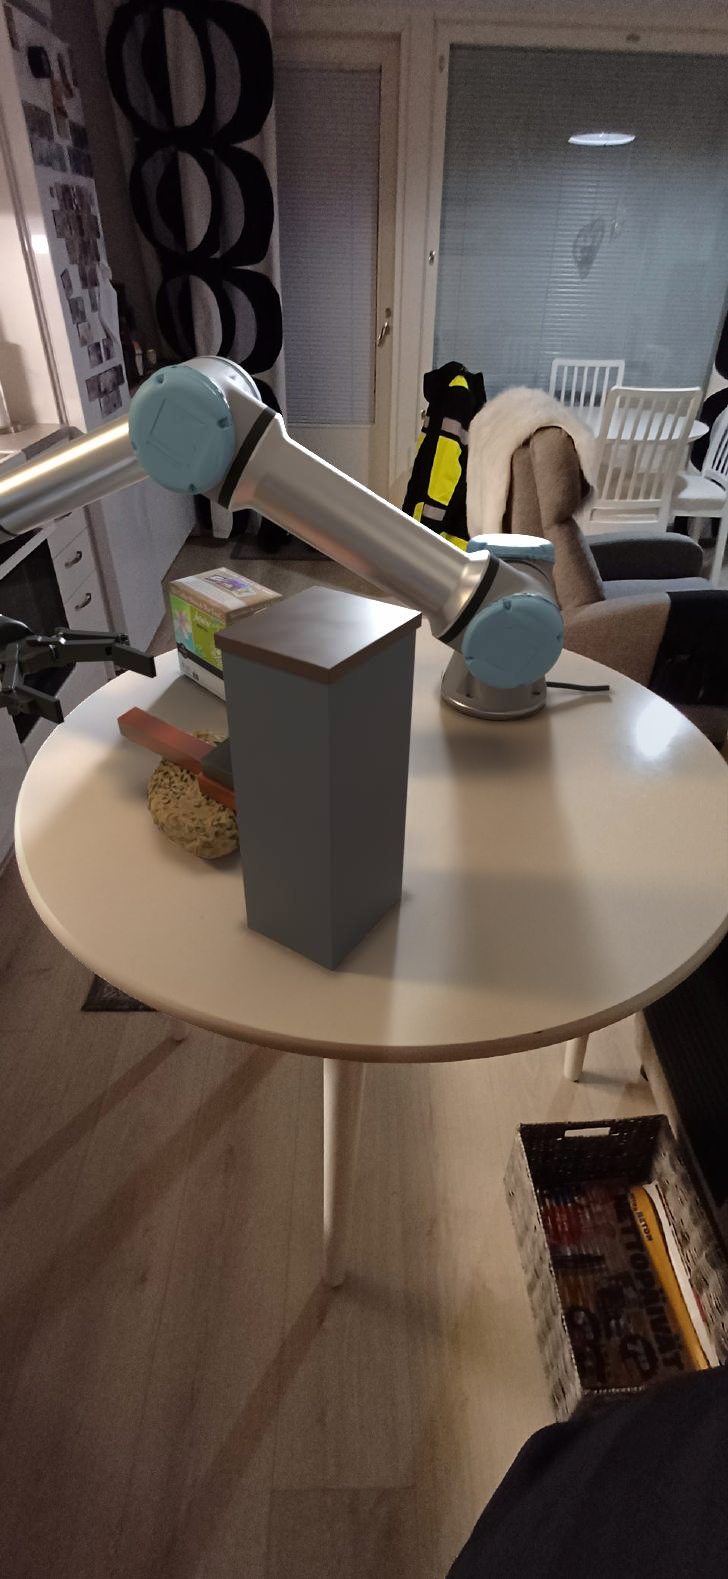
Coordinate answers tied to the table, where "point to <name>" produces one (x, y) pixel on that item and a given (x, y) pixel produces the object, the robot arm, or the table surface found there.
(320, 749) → the pedestal
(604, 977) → the table surface
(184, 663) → the tea box
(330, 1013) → the table surface
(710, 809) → the table surface
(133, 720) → the brush
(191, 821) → the sponge
